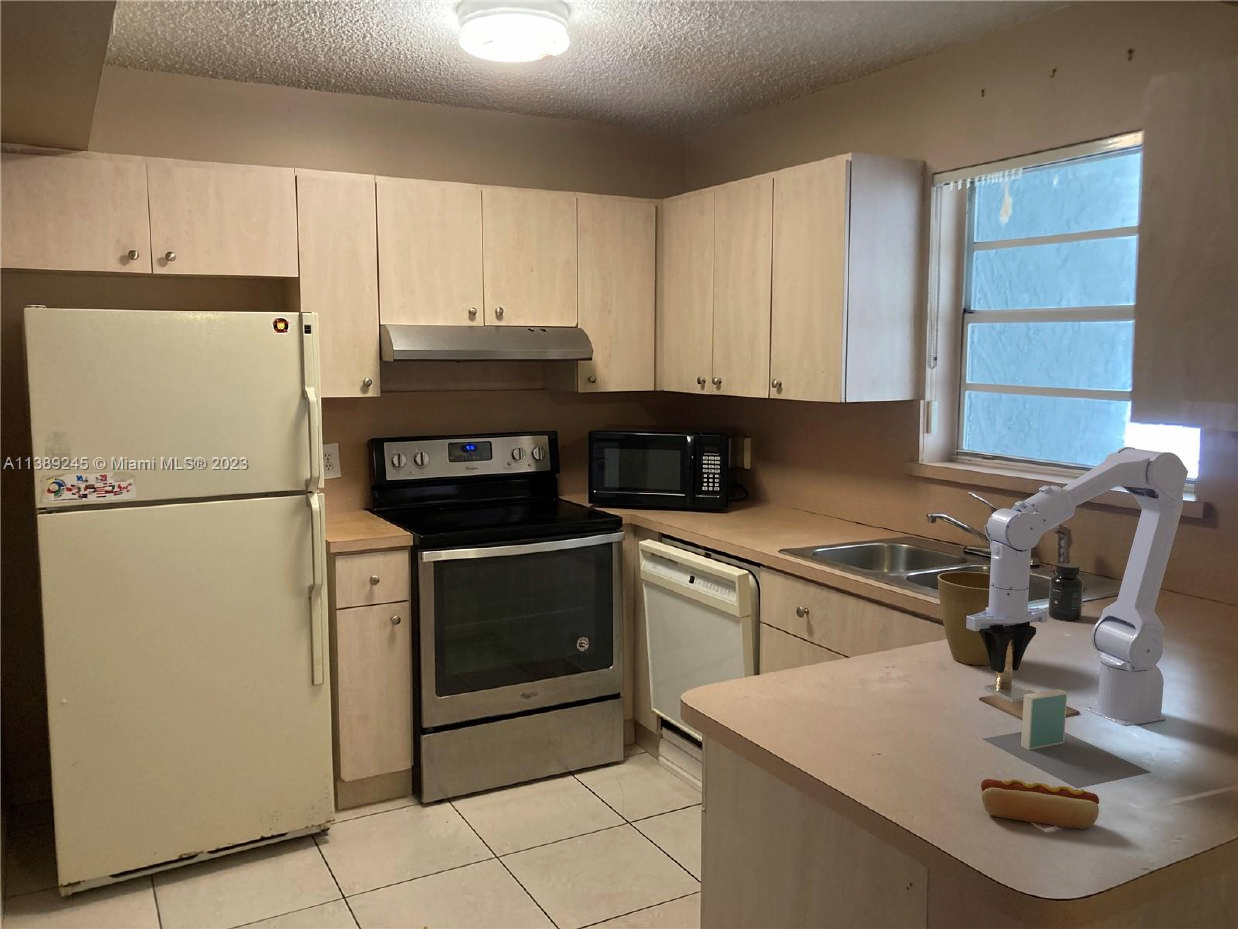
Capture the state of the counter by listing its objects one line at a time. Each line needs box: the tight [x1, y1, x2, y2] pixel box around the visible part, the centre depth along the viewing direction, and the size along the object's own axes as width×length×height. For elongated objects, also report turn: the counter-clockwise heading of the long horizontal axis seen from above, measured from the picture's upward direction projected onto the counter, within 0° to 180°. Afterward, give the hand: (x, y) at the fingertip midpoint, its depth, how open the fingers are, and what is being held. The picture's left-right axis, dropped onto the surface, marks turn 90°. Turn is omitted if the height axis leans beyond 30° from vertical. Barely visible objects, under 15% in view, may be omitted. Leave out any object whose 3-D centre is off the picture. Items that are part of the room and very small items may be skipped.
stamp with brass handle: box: [983, 637, 1034, 702], centre depth 152 cm, size 6×5×9 cm
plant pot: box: [937, 571, 990, 666], centre depth 188 cm, size 15×15×16 cm
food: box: [980, 778, 1100, 830], centre depth 124 cm, size 14×6×5 cm, turn 73°
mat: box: [982, 731, 1152, 789], centre depth 143 cm, size 14×18×1 cm
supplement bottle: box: [1047, 562, 1084, 622], centre depth 219 cm, size 7×7×12 cm
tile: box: [1021, 688, 1068, 750], centre depth 146 cm, size 7×2×8 cm, turn 112°
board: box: [978, 689, 1081, 721], centre depth 163 cm, size 11×11×1 cm
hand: (1004, 669), depth 154 cm, fingers closed on stamp with brass handle, 2 cm apart
